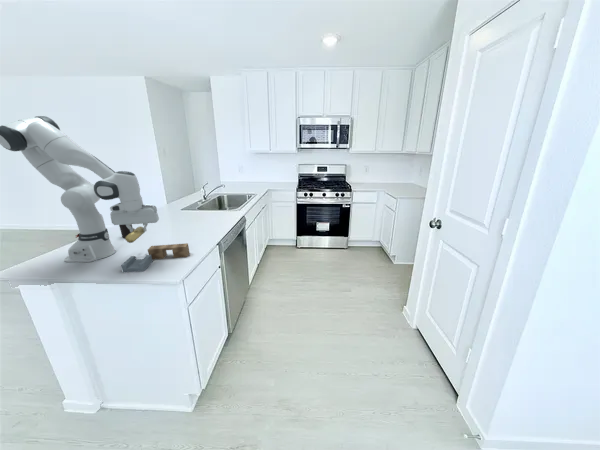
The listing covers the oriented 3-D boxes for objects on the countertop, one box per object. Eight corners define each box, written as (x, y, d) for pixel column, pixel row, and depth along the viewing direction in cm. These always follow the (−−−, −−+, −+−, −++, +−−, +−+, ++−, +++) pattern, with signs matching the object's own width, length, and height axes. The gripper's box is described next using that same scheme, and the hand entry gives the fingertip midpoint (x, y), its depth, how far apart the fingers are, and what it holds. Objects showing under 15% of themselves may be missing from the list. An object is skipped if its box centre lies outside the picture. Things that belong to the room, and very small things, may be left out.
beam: (149, 259, 131) (147, 249, 129) (153, 255, 135) (151, 245, 134) (187, 256, 134) (185, 246, 132) (189, 253, 138) (187, 243, 137)
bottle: (119, 238, 162) (112, 208, 156) (129, 234, 168) (122, 206, 162) (127, 239, 160) (120, 209, 154) (136, 235, 166) (130, 207, 160)
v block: (144, 270, 119) (142, 263, 118) (123, 272, 118) (121, 265, 117) (152, 261, 129) (151, 254, 128) (132, 263, 127) (131, 256, 126)
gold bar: (136, 242, 115) (133, 234, 114) (126, 243, 115) (124, 235, 113) (146, 233, 127) (143, 226, 125) (137, 234, 126) (135, 227, 125)
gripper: (157, 202, 124) (162, 228, 128) (112, 204, 120) (119, 231, 124) (153, 205, 118) (158, 232, 122) (105, 207, 114) (113, 235, 118)
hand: (138, 231), depth 123 cm, fingers closed on gold bar, 4 cm apart
